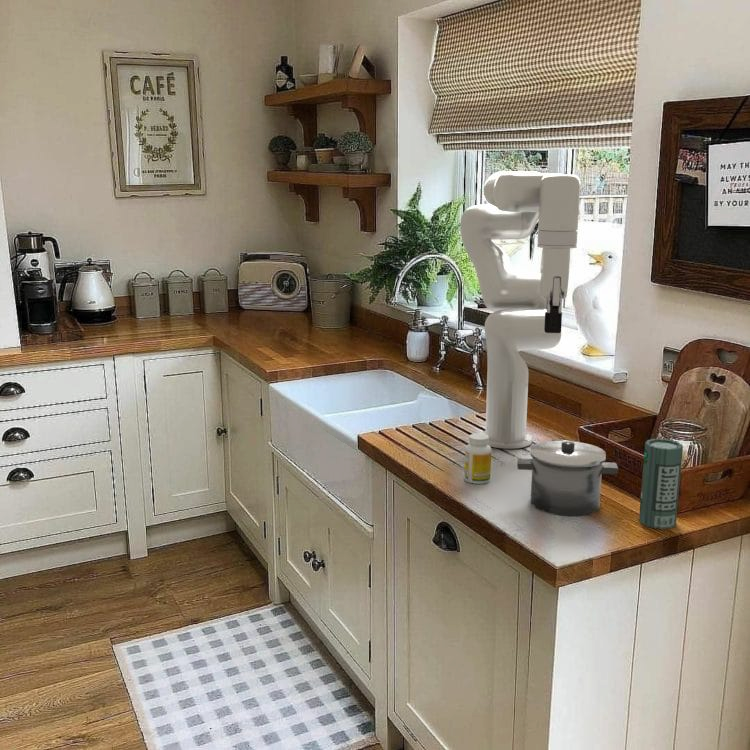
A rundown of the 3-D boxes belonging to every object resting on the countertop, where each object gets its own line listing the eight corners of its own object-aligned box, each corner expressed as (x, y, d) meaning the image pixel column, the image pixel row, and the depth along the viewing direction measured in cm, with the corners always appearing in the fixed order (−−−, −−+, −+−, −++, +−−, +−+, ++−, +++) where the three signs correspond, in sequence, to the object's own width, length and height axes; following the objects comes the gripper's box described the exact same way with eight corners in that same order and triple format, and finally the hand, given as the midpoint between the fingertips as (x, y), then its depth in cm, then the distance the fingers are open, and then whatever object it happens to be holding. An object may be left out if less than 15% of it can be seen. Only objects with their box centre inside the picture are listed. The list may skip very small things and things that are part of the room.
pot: (515, 488, 167) (517, 445, 165) (609, 492, 164) (612, 450, 162) (516, 513, 155) (518, 467, 152) (619, 518, 152) (622, 472, 150)
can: (664, 514, 154) (671, 438, 150) (681, 527, 148) (688, 448, 145) (634, 516, 153) (640, 439, 150) (649, 530, 147) (656, 450, 144)
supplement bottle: (459, 480, 171) (460, 436, 169) (474, 473, 175) (475, 430, 173) (480, 486, 168) (481, 441, 166) (495, 479, 172) (497, 435, 169)
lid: (528, 442, 166) (529, 430, 165) (600, 446, 164) (600, 433, 163) (531, 465, 151) (532, 452, 151) (610, 469, 150) (610, 455, 149)
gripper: (535, 236, 169) (532, 325, 173) (539, 242, 154) (535, 338, 158) (573, 237, 168) (568, 326, 172) (580, 242, 153) (575, 339, 157)
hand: (552, 332), depth 165 cm, fingers closed
